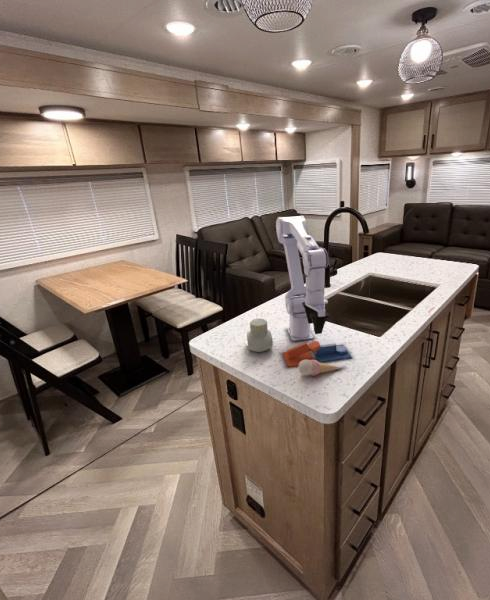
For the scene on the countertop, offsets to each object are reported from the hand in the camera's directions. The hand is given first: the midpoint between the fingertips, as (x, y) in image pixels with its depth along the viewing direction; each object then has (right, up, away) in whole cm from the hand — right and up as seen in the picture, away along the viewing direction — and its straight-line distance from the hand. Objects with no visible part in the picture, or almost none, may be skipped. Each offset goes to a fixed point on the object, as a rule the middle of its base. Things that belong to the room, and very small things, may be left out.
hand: (314, 328), depth 103 cm
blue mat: (+6, -9, +5) cm, 12 cm away
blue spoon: (+6, -9, +5) cm, 11 cm away
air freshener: (-19, -8, +10) cm, 22 cm away
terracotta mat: (-5, -10, +3) cm, 12 cm away
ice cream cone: (+1, -13, -4) cm, 14 cm away
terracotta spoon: (-3, -8, +2) cm, 9 cm away
